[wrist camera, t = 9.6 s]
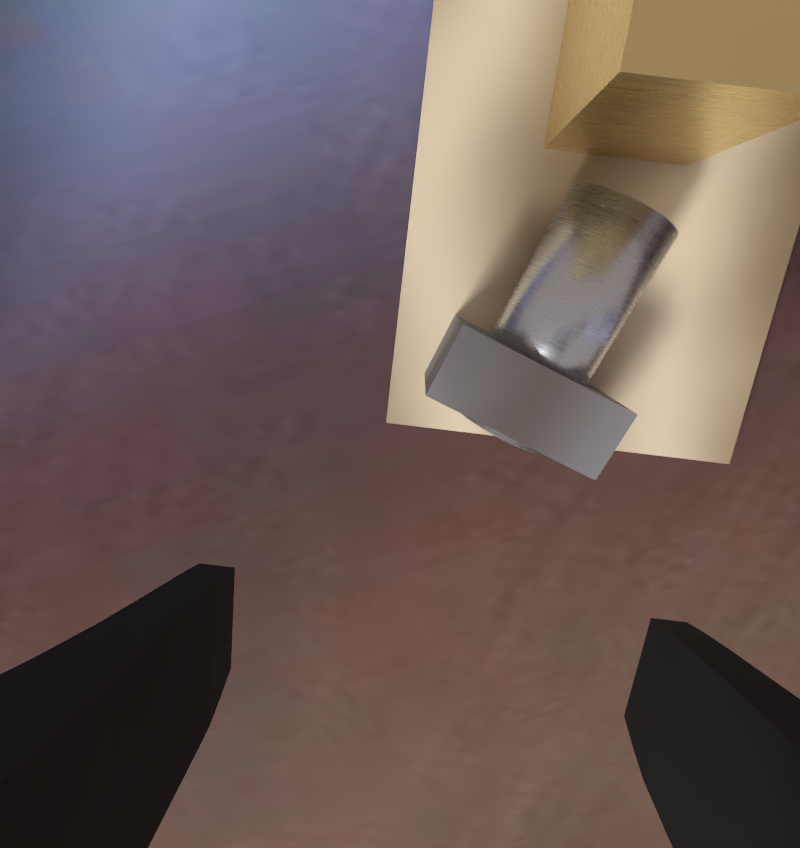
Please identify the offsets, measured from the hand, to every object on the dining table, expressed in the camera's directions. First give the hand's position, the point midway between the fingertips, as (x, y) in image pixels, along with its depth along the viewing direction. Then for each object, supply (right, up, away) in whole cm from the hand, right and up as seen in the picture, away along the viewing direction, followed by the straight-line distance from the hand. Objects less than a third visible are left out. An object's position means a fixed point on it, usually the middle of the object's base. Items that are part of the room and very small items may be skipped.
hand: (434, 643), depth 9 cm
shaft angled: (+4, +7, +7) cm, 11 cm away
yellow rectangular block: (+6, +13, +5) cm, 15 cm away
